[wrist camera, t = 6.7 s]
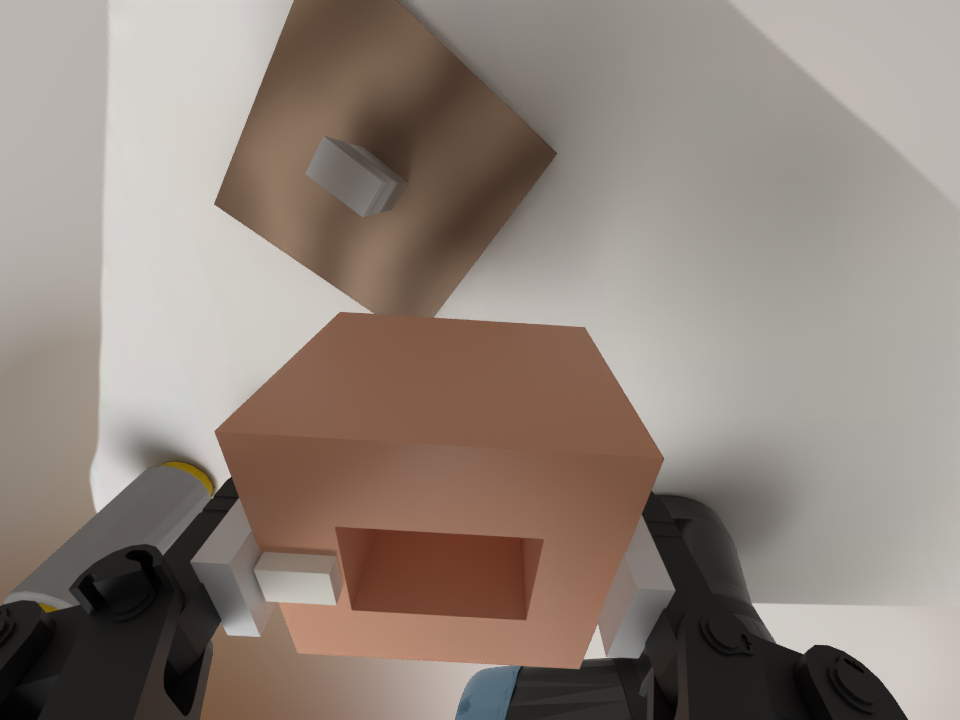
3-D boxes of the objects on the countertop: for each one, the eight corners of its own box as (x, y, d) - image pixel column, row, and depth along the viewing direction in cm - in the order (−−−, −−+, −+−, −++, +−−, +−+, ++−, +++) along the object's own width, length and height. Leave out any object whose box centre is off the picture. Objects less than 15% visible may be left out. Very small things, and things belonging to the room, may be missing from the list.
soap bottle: (229, 505, 38) (42, 735, 22) (167, 505, 39) (-63, 732, 23) (207, 456, 35) (-29, 681, 19) (139, 455, 36) (-150, 678, 20)
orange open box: (584, 327, 12) (674, 475, 6) (548, 497, 15) (582, 687, 10) (340, 311, 12) (198, 446, 6) (363, 486, 15) (290, 670, 10)
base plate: (553, 155, 23) (578, 143, 16) (418, 334, 29) (397, 379, 22) (333, -54, 19) (248, -183, 12) (228, 203, 25) (132, 209, 18)
